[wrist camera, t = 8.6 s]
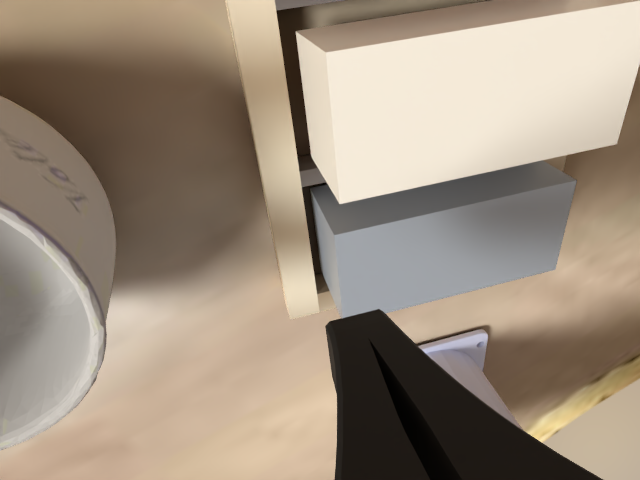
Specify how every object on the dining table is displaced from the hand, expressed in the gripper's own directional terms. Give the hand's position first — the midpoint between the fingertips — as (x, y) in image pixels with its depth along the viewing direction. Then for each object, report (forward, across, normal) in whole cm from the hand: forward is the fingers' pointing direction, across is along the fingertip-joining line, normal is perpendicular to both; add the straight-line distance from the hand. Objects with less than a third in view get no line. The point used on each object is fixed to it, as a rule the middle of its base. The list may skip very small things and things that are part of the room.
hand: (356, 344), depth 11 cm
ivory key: (+9, -6, -4) cm, 11 cm away
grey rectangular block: (+10, -6, +3) cm, 12 cm away
